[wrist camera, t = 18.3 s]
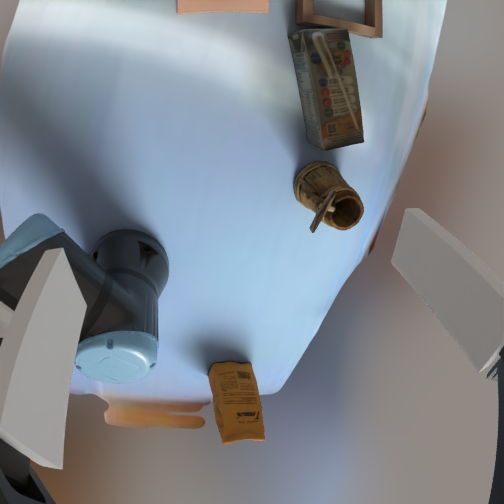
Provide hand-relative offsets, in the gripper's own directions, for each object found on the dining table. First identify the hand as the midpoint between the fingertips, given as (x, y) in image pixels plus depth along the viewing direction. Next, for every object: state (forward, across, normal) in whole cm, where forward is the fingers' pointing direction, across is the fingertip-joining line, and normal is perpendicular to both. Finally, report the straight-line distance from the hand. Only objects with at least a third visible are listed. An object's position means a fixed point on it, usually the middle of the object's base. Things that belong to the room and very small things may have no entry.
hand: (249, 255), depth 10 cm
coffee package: (+37, +2, -64) cm, 74 cm away
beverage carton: (+37, +19, +5) cm, 42 cm away
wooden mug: (+37, +18, -12) cm, 43 cm away
